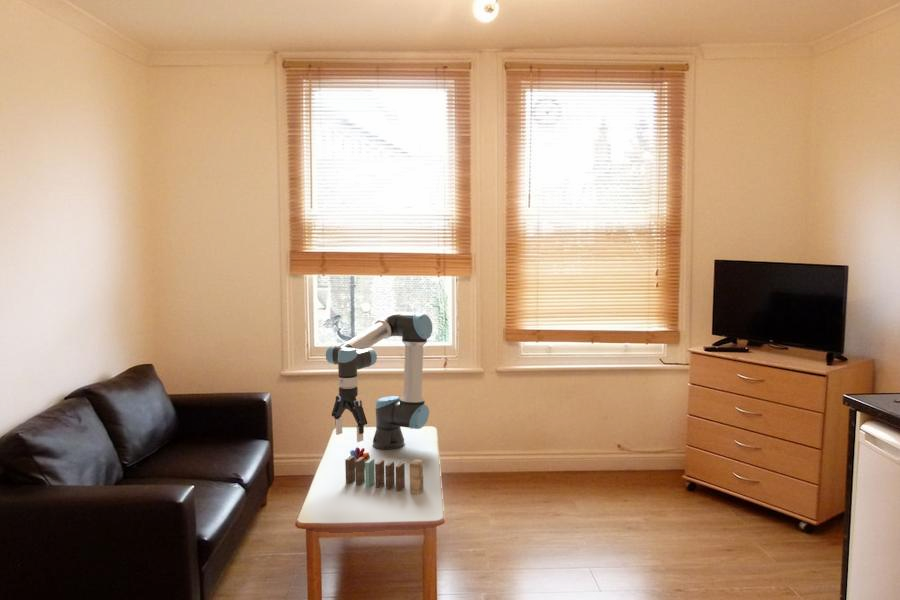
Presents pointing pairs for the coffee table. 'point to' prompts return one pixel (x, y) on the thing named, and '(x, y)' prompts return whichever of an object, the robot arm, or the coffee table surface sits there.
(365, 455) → the colorful disc cluster
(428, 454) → the coffee table surface
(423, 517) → the coffee table surface
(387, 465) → the domino
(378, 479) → the domino
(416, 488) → the end block
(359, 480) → the domino
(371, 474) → the teal domino
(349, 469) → the domino
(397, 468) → the domino
